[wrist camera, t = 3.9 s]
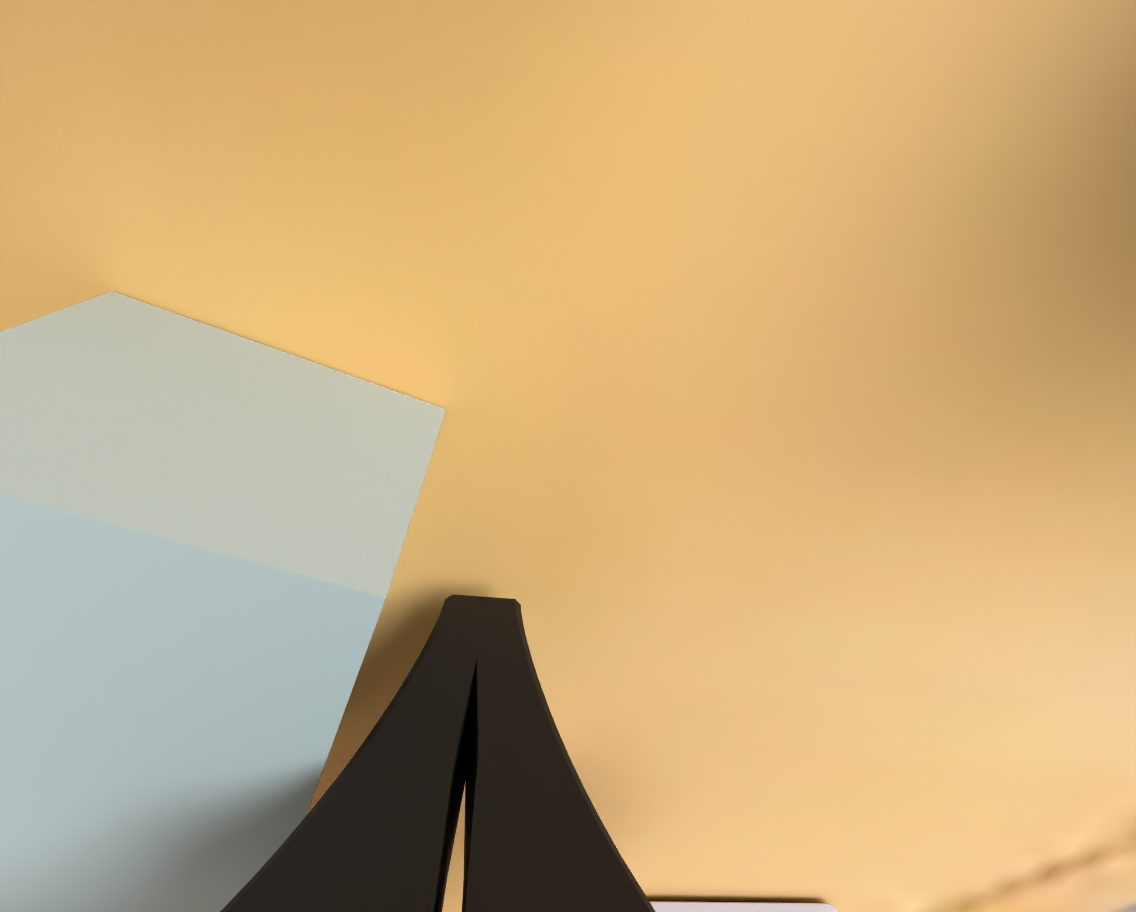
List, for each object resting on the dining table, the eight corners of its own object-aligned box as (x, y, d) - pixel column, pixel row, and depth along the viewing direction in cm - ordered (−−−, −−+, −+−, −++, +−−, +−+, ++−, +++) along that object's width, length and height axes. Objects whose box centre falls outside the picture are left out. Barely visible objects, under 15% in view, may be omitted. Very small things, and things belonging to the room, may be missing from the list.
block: (335, 717, 13) (249, 970, 9) (85, 662, 12) (-139, 926, 8) (446, 409, 10) (386, 597, 6) (111, 291, 8) (-255, 424, 5)
